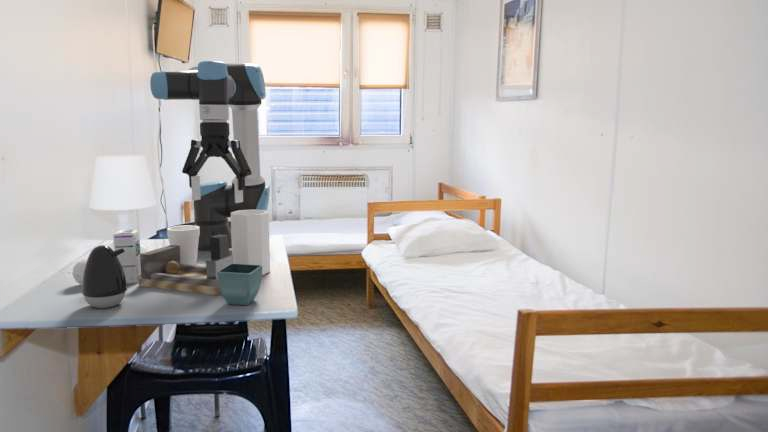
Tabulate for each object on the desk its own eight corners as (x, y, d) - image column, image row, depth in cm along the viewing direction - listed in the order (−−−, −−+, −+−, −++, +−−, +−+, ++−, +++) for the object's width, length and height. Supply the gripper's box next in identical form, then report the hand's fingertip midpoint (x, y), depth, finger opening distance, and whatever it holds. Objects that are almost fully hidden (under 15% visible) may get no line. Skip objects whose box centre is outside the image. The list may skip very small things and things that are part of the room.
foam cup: (191, 274, 183) (189, 231, 181) (163, 272, 185) (161, 230, 183) (206, 266, 192) (204, 225, 190) (179, 265, 194) (177, 224, 192)
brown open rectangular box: (139, 285, 170) (137, 254, 169) (172, 273, 183) (170, 244, 182) (218, 295, 161) (217, 262, 160) (247, 282, 174) (246, 251, 173)
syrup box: (138, 283, 173) (135, 232, 170) (116, 284, 172) (112, 233, 169) (142, 278, 178) (139, 229, 176) (121, 278, 177) (118, 229, 175)
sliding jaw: (206, 282, 165) (205, 238, 163) (225, 274, 173) (223, 232, 171) (216, 283, 164) (214, 239, 162) (234, 275, 172) (232, 233, 170)
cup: (267, 277, 180) (266, 214, 177) (229, 277, 179) (227, 215, 176) (272, 267, 191) (270, 209, 188) (235, 268, 190) (233, 209, 187)
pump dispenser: (120, 311, 148) (116, 249, 146) (76, 312, 147) (71, 250, 145) (134, 298, 158) (130, 241, 156) (92, 299, 157) (88, 241, 155)
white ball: (105, 280, 175) (103, 255, 174) (99, 287, 168) (97, 261, 167) (67, 282, 173) (65, 257, 172) (59, 289, 166) (57, 263, 165)
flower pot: (251, 308, 150) (250, 273, 149) (217, 306, 152) (216, 271, 150) (264, 298, 159) (263, 264, 158) (231, 296, 160) (230, 263, 159)
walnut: (171, 272, 177) (170, 258, 176) (182, 273, 175) (182, 260, 175) (162, 275, 173) (161, 261, 172) (173, 277, 172) (173, 263, 171)
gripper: (166, 121, 163) (170, 200, 166) (247, 121, 154) (249, 205, 157) (184, 121, 170) (188, 197, 173) (263, 121, 161) (265, 201, 164)
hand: (217, 201), depth 165 cm, fingers open, 13 cm apart
